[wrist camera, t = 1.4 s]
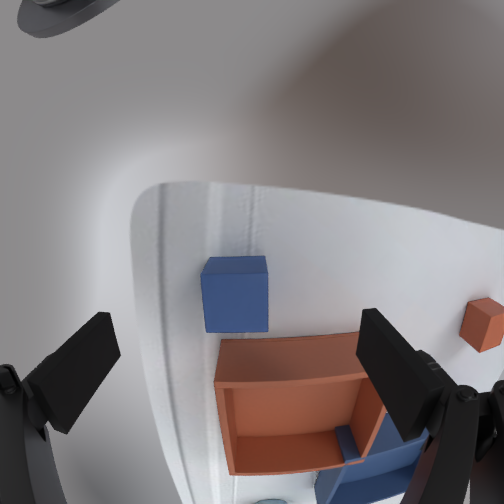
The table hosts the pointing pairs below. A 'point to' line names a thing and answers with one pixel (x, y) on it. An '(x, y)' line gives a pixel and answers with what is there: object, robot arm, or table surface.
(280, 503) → the cup
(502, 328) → the terracotta block
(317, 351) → the terracotta bin
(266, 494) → the table surface
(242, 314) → the blue block
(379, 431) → the blue bin
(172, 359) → the table surface
